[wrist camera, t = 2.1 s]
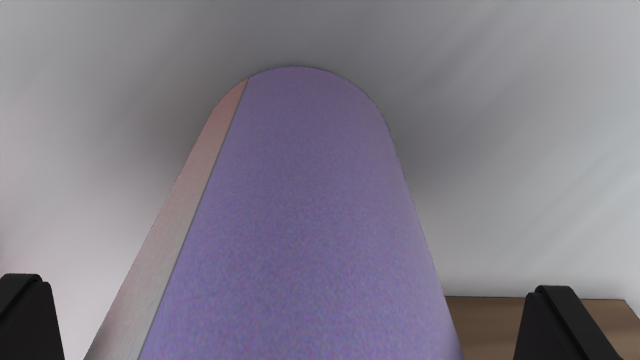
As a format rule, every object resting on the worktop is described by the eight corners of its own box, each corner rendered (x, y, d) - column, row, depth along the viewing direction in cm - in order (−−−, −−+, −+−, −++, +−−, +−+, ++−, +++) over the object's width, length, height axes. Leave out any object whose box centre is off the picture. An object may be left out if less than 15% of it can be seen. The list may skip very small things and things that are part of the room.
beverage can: (342, 26, 17) (458, 524, 3) (418, 190, 19) (673, 889, 5) (168, 111, 18) (-303, 758, 4) (260, 257, 20) (144, 981, 7)
